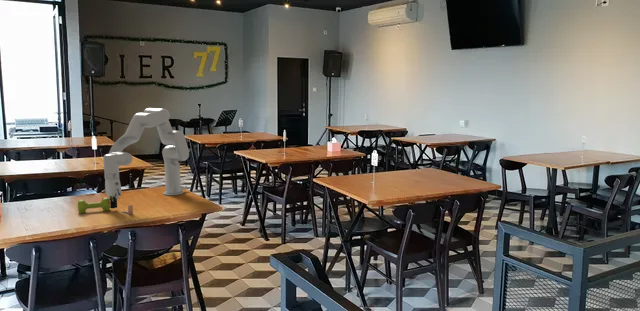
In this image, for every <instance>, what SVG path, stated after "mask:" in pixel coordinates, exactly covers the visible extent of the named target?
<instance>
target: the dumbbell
mask: <svg viewBox="0 0 640 311" xmlns="http://www.w3.org/2000/svg"><path fill="white" fill-rule="evenodd" d="M98 208H101V209H102V210H103V211H104V212H108V211H110V209H111V208H110V199H109V197H106V198H103V199H101V201H98V202H97V201H96V202H89V203H88V202H86V200H85V199H78V201H77V210H78V213H79V214H85V213H86V211H87V210H88V209H98Z"/></svg>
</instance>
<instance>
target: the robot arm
mask: <svg viewBox="0 0 640 311" xmlns="http://www.w3.org/2000/svg"><path fill="white" fill-rule="evenodd" d="M170 117H171V114H170V111H169V110H168V109H166V108H159V107H158V108H157V107H147V108H145V109H144V110H143V112H137V113H135V114H134V115H133V116H132V118H131V120H130V122H129V125H128V126H127V129H126V131H125V132H124V134H123V135H122V136H120V137H119V138H118V139H117V140H116V141H115V142H114V143H113V144H112V145H111V148H110V150H109V151H108V153H107V154H104V155H103V170H104V174H103V175H104V180H105V181H104V188H105V191H104V192H105V195H107V198H109V201H110V209H116V208H118V199H120V196H122V195H123V194H122V192H123V191H122V185H121V181H120V167H119V166H128V165H130V164H131V163H132V162H133V155H132V154H131V153H129V152H125V151H123V150H124V149H125V148H127V147H128V146H130V145H133V144H135V143H137V142H139V140H140V139H141V136H142V134H143V132H144V130H145V128H154V127H155V128H156V129H157V132H158V136H159V138H160V142H161V143H162V144H163V145H165V146H164V148H162V151H161V152H162V157H163V163H164V178H165V180H164V181H165V184H164V185H165V190H164V191H163V195H164V196H179V195H182V194H184V190H187V189H188V185H184V186H183V185H182V184H181V183H182V182H181V180H182V179H181V164H180V163H179V162H184V161H187V160H188V159H189V157H190V150H189V147H188V142H187V140H186V139H187V138H186V136H185V134H184V133H183V132H182V131H181V130H174V129H173V128H172V125H171V122H170V121H169V120H170Z"/></svg>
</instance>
